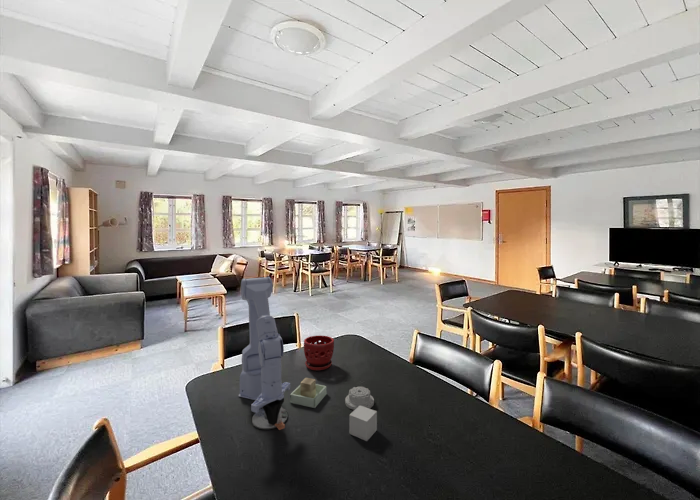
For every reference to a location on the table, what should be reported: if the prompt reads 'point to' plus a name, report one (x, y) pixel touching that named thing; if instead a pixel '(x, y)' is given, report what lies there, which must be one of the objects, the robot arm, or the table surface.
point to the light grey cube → (363, 422)
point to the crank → (278, 421)
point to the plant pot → (318, 352)
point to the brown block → (308, 387)
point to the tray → (308, 401)
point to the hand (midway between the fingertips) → (272, 423)
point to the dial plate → (266, 420)
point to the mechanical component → (359, 398)
